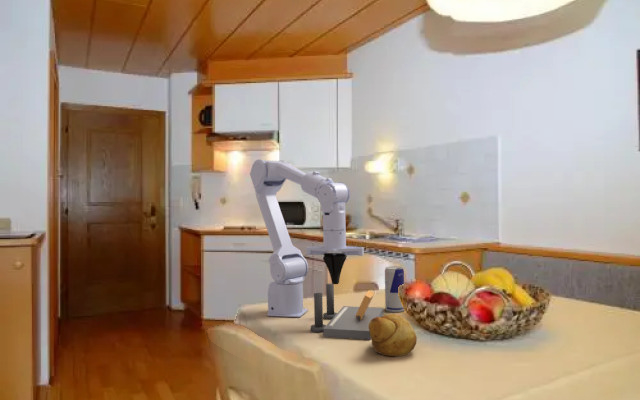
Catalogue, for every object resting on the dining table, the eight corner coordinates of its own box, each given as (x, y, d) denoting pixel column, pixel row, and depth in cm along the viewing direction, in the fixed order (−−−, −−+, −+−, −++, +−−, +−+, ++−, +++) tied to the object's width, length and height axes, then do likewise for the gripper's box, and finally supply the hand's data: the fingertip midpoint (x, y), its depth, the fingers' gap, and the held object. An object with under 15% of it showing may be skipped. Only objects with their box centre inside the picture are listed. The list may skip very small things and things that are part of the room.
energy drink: (406, 312, 132) (405, 269, 131) (386, 312, 132) (385, 269, 132) (403, 307, 137) (402, 266, 137) (384, 308, 137) (383, 266, 137)
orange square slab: (354, 318, 117) (364, 295, 116) (358, 312, 123) (368, 290, 122) (360, 321, 117) (370, 298, 116) (364, 315, 122) (374, 293, 122)
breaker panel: (323, 337, 111) (323, 327, 111) (343, 313, 132) (343, 305, 132) (370, 339, 108) (370, 330, 108) (383, 315, 129) (383, 307, 129)
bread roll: (373, 339, 109) (373, 304, 109) (417, 340, 107) (416, 305, 107) (367, 358, 96) (366, 318, 96) (416, 360, 94) (415, 320, 94)
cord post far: (321, 319, 126) (320, 285, 126) (325, 315, 130) (324, 282, 130) (336, 320, 125) (335, 285, 125) (339, 316, 129) (338, 283, 129)
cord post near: (308, 332, 115) (307, 295, 115) (313, 327, 119) (312, 291, 119) (324, 333, 114) (324, 295, 114) (328, 328, 118) (328, 292, 118)
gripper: (302, 231, 119) (303, 285, 119) (359, 231, 115) (361, 287, 115) (310, 229, 126) (311, 280, 126) (364, 229, 122) (365, 282, 122)
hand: (335, 283), depth 121 cm, fingers closed
